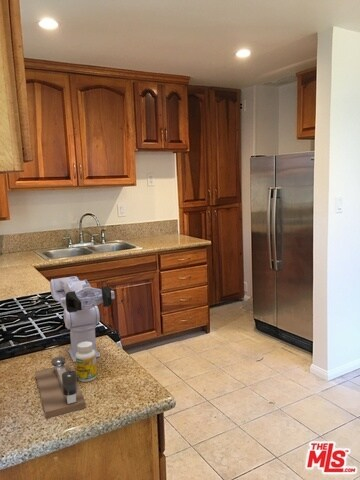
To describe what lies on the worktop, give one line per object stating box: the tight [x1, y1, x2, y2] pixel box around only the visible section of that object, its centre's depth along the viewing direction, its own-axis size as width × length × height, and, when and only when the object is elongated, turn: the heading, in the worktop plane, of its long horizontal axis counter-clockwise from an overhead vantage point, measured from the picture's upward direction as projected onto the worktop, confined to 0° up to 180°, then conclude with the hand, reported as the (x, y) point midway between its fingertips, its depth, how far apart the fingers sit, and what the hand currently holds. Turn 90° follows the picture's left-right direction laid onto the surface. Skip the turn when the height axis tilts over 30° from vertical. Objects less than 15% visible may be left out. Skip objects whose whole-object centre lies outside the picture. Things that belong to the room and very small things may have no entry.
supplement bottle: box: [75, 341, 98, 383], centre depth 106 cm, size 5×5×10 cm
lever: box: [51, 356, 78, 404], centre depth 100 cm, size 20×4×6 cm, turn 26°
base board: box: [34, 363, 87, 419], centre depth 100 cm, size 22×9×2 cm, turn 26°
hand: (95, 303), depth 101 cm, fingers open, 7 cm apart
